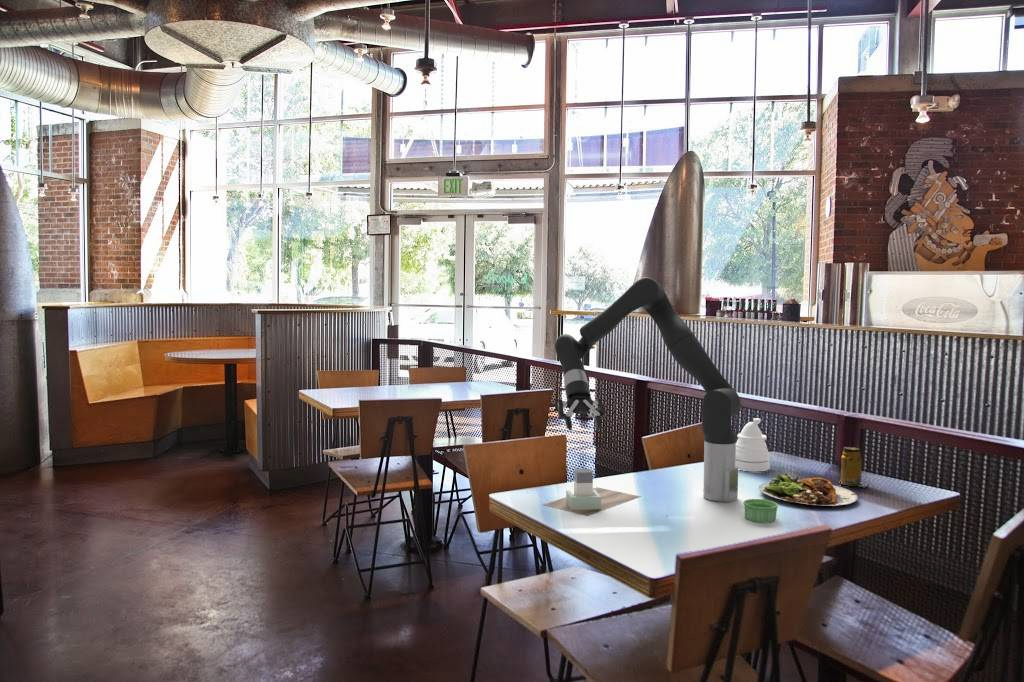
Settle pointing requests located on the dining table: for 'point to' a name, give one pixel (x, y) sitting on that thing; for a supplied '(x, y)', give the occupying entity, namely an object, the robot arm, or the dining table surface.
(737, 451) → the honey pot
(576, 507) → the end holder
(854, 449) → the condiment
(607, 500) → the board
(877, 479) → the dining table surface
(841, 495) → the plate of food
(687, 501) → the dining table surface
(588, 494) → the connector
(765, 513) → the ramekin
